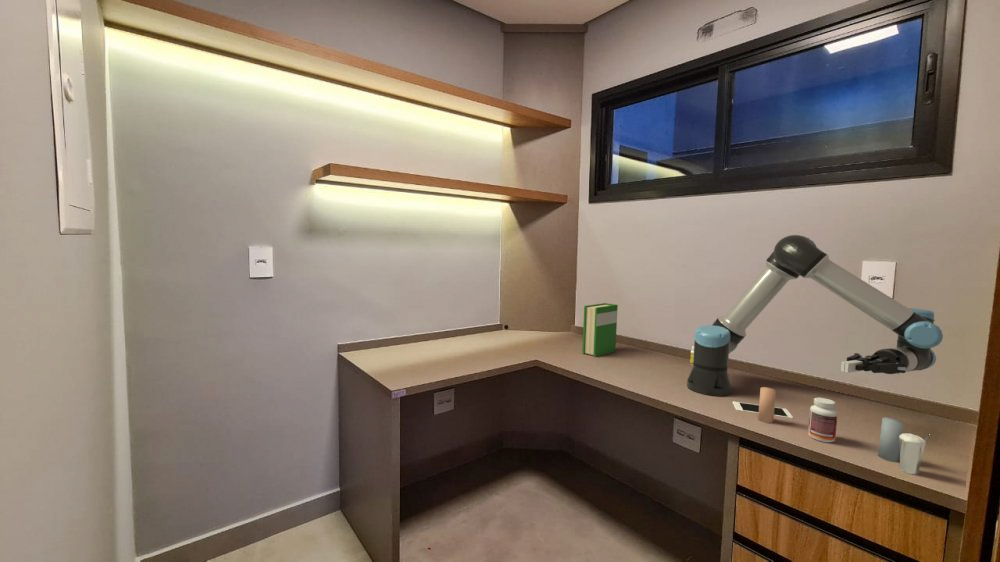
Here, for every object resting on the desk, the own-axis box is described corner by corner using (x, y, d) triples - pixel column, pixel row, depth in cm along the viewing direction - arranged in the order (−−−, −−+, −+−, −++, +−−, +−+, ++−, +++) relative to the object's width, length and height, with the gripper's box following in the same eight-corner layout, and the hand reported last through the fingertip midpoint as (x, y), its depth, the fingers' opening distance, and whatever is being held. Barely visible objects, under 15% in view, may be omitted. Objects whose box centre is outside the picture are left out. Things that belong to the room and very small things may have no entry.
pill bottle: (840, 444, 113) (844, 405, 112) (815, 442, 114) (819, 403, 113) (826, 434, 119) (829, 397, 118) (803, 432, 120) (806, 395, 119)
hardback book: (594, 357, 196) (596, 307, 194) (582, 354, 202) (584, 305, 199) (615, 351, 208) (617, 304, 206) (603, 348, 213) (605, 303, 211)
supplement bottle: (691, 362, 190) (692, 345, 189) (702, 364, 187) (703, 346, 186) (688, 365, 186) (689, 347, 186) (699, 367, 184) (700, 348, 183)
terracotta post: (756, 420, 128) (759, 389, 127) (759, 416, 130) (762, 386, 130) (771, 424, 125) (774, 392, 124) (774, 420, 128) (777, 389, 127)
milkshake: (930, 478, 97) (935, 438, 96) (901, 473, 98) (906, 433, 98) (919, 469, 101) (924, 430, 100) (891, 464, 103) (896, 426, 102)
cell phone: (731, 402, 143) (732, 401, 143) (786, 410, 137) (786, 408, 137) (736, 411, 135) (736, 409, 135) (793, 419, 130) (793, 417, 130)
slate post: (877, 457, 106) (882, 420, 105) (878, 452, 109) (882, 416, 108) (899, 463, 103) (904, 425, 102) (899, 458, 106) (903, 420, 105)
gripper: (920, 379, 120) (870, 387, 111) (866, 366, 132) (818, 373, 124) (923, 354, 119) (873, 360, 111) (869, 343, 131) (820, 348, 123)
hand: (844, 367), depth 117 cm, fingers closed
